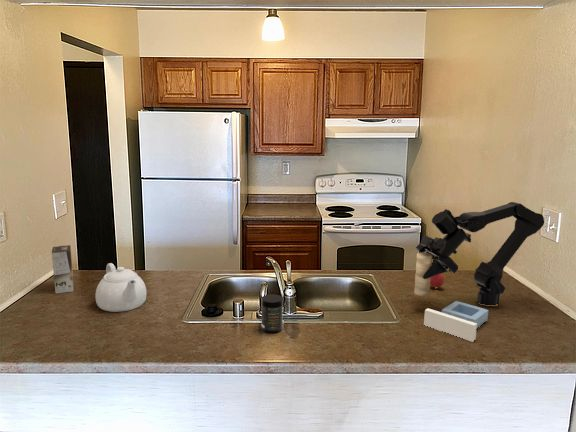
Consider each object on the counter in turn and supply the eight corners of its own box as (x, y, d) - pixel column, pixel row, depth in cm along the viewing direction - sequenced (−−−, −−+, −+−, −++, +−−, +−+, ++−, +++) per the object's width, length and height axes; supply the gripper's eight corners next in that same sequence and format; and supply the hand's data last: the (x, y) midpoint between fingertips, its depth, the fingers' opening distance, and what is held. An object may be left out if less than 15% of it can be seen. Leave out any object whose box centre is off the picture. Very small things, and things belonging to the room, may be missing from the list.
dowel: (424, 290, 163) (427, 252, 160) (431, 295, 158) (434, 256, 155) (411, 291, 162) (414, 253, 159) (418, 296, 157) (421, 257, 154)
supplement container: (286, 330, 145) (287, 299, 143) (267, 335, 142) (268, 304, 140) (275, 322, 151) (276, 292, 149) (257, 327, 147) (257, 296, 145)
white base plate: (450, 310, 163) (451, 294, 162) (496, 324, 153) (498, 307, 151) (423, 327, 150) (424, 309, 148) (472, 344, 139) (474, 325, 137)
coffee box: (74, 291, 175) (70, 250, 172) (55, 294, 172) (51, 252, 169) (73, 283, 183) (70, 244, 180) (55, 285, 181) (52, 246, 177)
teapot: (156, 295, 173) (155, 260, 170) (136, 315, 155) (133, 276, 152) (109, 292, 175) (106, 258, 172) (83, 312, 157) (80, 274, 154)
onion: (440, 292, 180) (442, 273, 179) (426, 289, 184) (427, 270, 182) (445, 288, 185) (447, 269, 183) (431, 285, 188) (432, 266, 186)
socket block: (455, 311, 161) (456, 300, 160) (487, 321, 153) (488, 310, 152) (440, 321, 153) (441, 309, 152) (473, 331, 145) (475, 319, 144)
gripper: (422, 221, 165) (392, 253, 164) (453, 234, 147) (419, 269, 147) (440, 241, 168) (411, 272, 168) (472, 256, 151) (439, 290, 150)
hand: (419, 275), depth 158 cm, fingers closed on dowel, 5 cm apart
